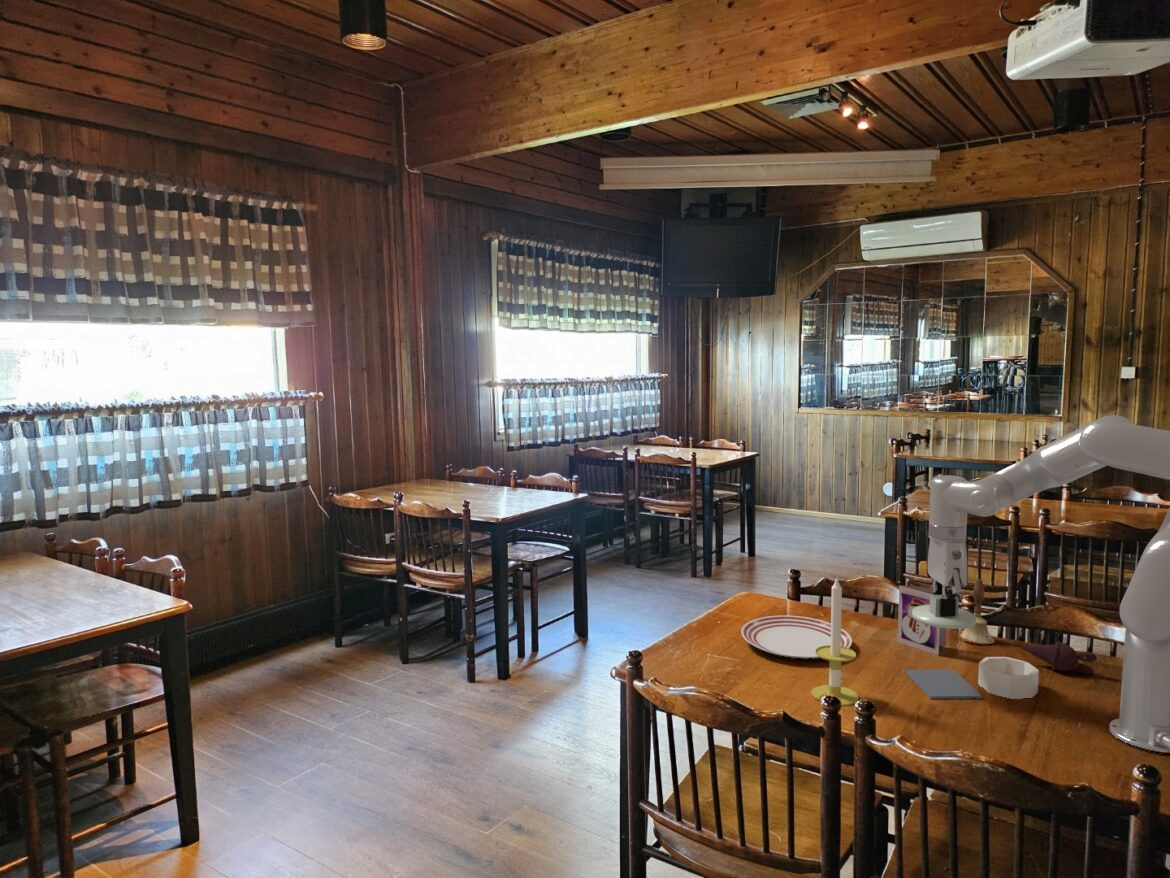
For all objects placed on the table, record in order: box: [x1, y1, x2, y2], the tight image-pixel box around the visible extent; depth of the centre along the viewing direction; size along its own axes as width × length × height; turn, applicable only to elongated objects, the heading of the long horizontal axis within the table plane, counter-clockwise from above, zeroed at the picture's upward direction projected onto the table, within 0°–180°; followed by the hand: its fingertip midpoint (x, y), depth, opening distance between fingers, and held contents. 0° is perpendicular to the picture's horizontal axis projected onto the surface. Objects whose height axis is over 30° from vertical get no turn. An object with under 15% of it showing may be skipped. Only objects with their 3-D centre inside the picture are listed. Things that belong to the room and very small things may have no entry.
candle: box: [810, 577, 860, 707], centre depth 170 cm, size 10×10×27 cm
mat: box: [904, 669, 983, 700], centre depth 176 cm, size 14×11×1 cm
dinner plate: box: [740, 614, 853, 660], centre depth 201 cm, size 28×27×3 cm
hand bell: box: [959, 578, 995, 644], centre depth 202 cm, size 8×8×16 cm
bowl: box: [977, 656, 1040, 700], centre depth 173 cm, size 11×11×5 cm
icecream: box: [1021, 640, 1098, 675], centre depth 183 cm, size 7×7×15 cm
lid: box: [912, 595, 976, 630], centre depth 174 cm, size 13×13×5 cm
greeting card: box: [897, 585, 949, 656], centre depth 198 cm, size 11×7×15 cm, turn 33°
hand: (943, 612), depth 174 cm, fingers closed on lid, 3 cm apart
